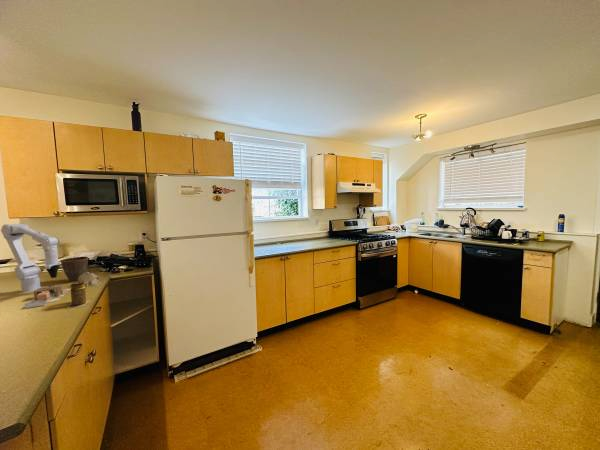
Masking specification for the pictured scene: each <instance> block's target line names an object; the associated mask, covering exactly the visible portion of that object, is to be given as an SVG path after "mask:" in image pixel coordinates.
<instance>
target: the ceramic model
mask: <svg viewBox="0 0 600 450" xmlns="http://www.w3.org/2000/svg"><path fill="white" fill-rule="evenodd" d="M99 280H100V277H99V276H98V275H96V274H95V273H93V272H89V271H86V273H83V274H82V275H80V277H79V278H78V281H77V282H84V286H85V288H91V287H95V288H97V287H99V286H101V285H102V284H101V281H99Z"/></svg>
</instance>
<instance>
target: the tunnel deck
mask: <svg viewBox="0 0 600 450" xmlns="http://www.w3.org/2000/svg"><path fill="white" fill-rule="evenodd" d="M49 290H55V291H56V296H55V297H54V298H53V299H52V300H50V301H49V302H48V303H47V304H51V303H56V302H58V301H59V300H60V299H62V298H63V297H64V296H65V295H66V294H67V293H69V292H70V291H71V287H69V288H64V289H63V285H54V286H53V287H48V286H46V287H43V288H38V289H37V290H34V291H33V298H32V299H30V300H29V301H27V302H26V303H25V304H23V305H22V306H21V308H23V307H24V308H25V305H26V304H28V303H29V302H31V301H32V300H34V299H35V298H37V295H38V294H40V293H44V292H49ZM50 295H53V294H50Z"/></svg>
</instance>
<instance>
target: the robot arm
mask: <svg viewBox="0 0 600 450" xmlns="http://www.w3.org/2000/svg"><path fill="white" fill-rule="evenodd" d="M0 232H1V234H2V237H3V238H4V239H5V241H6V243H7V244H8V247H9V249H10V251H11V253H12V255H13V257H14V259H15V261H16V263H17V266H16V267H15V268H14V269H13V270H14V274H15V277H16V278H17V279H18V280H20V287H21V292H22V293H27V292H34V291H35V290H37V289H38V288H44V287H42V286H41V280H40V277H39V275H40V274H41V268H40V267H39V266H38V265H37V263H35V262H33V261H31V260H30V257H29V256H28V254H27V252H26V250H25V248H24V246H23V244H22V241H21V238H23V237H24V236H25V235H27V236H28V237H31V239H32V240H33V241H35V242H37V243H40V246H41V247H42V250H43V252H44V259H45V264H44V265H45V266H44V268H45V270H46V271H47V273H48V274H49V276H50V278H51V279H54V278H57V276H58V272H59V268H60V265H62V264H61V261H59V253H58V245H59V243H60V240H59V237H57V236H56V235H54V236H50V235H48V234H46V233H44V231H36V230H34V229H32V228H31V227H29V224H26V223H24V222H21V223H11V224H7V223H6V224H3V225H2V226H1V229H0Z"/></svg>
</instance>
